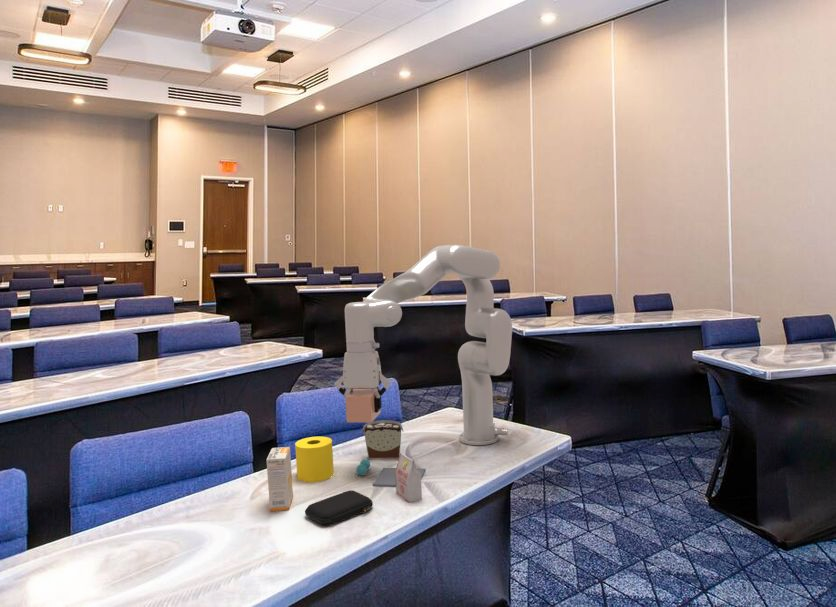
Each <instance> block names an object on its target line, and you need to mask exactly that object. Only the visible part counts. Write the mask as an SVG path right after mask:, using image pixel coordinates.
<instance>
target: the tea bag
mask: <svg viewBox="0 0 836 607" xmlns="http://www.w3.org/2000/svg"><path fill="white" fill-rule="evenodd" d="M396 464H397V465H396V467H395V468H396V470H395V475H396V487H395V489H396V490H395V491H396V492H395V493H396V494H397V495H398V496H400V497H401V498H402V499H403V500H405V501H406V502H408V503H412V502H416V501H420V500H423V494H422V493H423V492H422V491H423V490H422V489H423V488H422V479H421V475H420V473H419V471H418V469H417V468H418V467H417V466H416V463H415V460H414V459H412V458H410V457H408V456H407V455H405V454H404V453H400V458H399V459H398V462H397V463H396Z"/></svg>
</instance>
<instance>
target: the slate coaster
mask: <svg viewBox="0 0 836 607" xmlns="http://www.w3.org/2000/svg"><path fill="white" fill-rule="evenodd" d="M416 468H417V469H418V471H419V473H420V475H421V480H422V479H423V477H424V474H425V471H426V468H424V467H423V468H421V467H420V468H419V467H416ZM395 470H396V467H382V469H381V470H380V472H379V474H378V475H377V476H376V478H375V480H374V481H373V483H372V487H389V488H391V487H394V488H396V475H395Z"/></svg>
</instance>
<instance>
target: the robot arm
mask: <svg viewBox="0 0 836 607" xmlns="http://www.w3.org/2000/svg"><path fill="white" fill-rule="evenodd" d="M500 268H501V261H500V258H499V256H498V255H497V254H496V253H495V252H493V251H491V250H487V249H483V248H477V247H472V246H467V245H462V244H445V245H438V246H436V247H434V248H432V249H430V251H428V252H427V253H426V254H425V255H424V256H422V257H421V258H420V260H419V259H418V261H417V262H415V264H414V265H413V266H411V267H410V268H409V269H407V270H406V271H405V272H403V273H401V274H399V275H397V276H396V277H394V278H392V279H390V280H389V281H387V282H385V283H383V284H381V285H380V286H378V287H377V288H376V289H375V290H373V291H372V292H371V293H370V294H369V295H368V296H366V297H365V298H364V299H363V301H356V302H355V301H354V302H349V303H347V304H345V307H344V322H345V339H346V340H345V342H346V352H344V356H343V365H342V366H343V368H342V375H341V376H340V377H339V378H337V380H336V381H335V382H334V383H333V385H334V387H335V388H336V389H337V390H338V392H339V393H340V394H341V395H342V396H343V397H344V399H345V397H346V396H347V395H348V394H349V393H350V392H352V391H353V390H354V389H372V391H373V393H374V394H375V398H374V406H375V412H376V413H377V412H378V411H379V410H380V409H382V396H383V395H384V393H385V392H386V391H387V390H388V389H389V388H390V386H391V385H392V381H391V380H389V379H388V378H387V377H386V376H384V374H382V369H381V368H382V366H381V361H380V356H379V352H378V351H377V350H376V349H379V348H380V343H379V342H376V341H375V338H374V336H375V333H374V328H377V327H378V328H379V327H384V328H388V327H389V328H390V327H393V326H395V325H397V324H398V323H399V322H400V321H401V319H402V316H403V311H402V308H401V306H400V304H399V303H402V302H404V301H407V300H412V299H416V298H418V297H421V296H423V295H426V294H427V293H428V292H429V291H430V290H431V289H432V288H433V287H434V286H435V285H436V284H438V283H439V282H440V281H441V280H442V279H444V277H446V276H447V275H453V274H454V275H456V276H458V278H459V279H460V280H461V281H462V283H463V284H464V286H465V290H466V305H465V316H464V317H465V319H464V320H465V322H464V327H465V331H466V333H467V335H469V336H471V337H475V338H482V339H486V342H485V341H477V340H470V341H467V342H465V343H464V344H462V345H461V346H460V348H459V349H458V352H457V362H458V367H459V370H460V375H461V376H460V377H461V387H462V391H461V393H462V414H463V415H462V420H463V421H462V422H463V432H461V433H460V434H459V435H458V440H459V442H461V443H463V444H466V445H472V446H487V445H491V444H494V443H497V441H499V437H500V436H508V435H509V433H508V432H509V429H508V428H505V427H497V426H495V422H494V407H493V406H494V405H493V403H494V402H493V401H494V400H493V382H492V379H491V376H501V375H502V374H504V373H505V372H506V371H507V370H508V367H509V365H510V360H511V359H510V358H511V348H512V335H513V322H512V319H511V316H510V314H508V312H507V311H506V310H504V309H502V308H497V307H496V308H495V307H494V306H495V305H494V303H495V302H494V301H495V300H494V299H495V296H494V294H495V292H494V287H493V284H492V282H491V280H490V279H492V278H494V277H495V276H497V274H498V273H499V271H500ZM342 383H343V385H342ZM382 383H383V384H384V385H383V386H382V388H380V387H379V386H380V385H382ZM499 435H500V436H499Z"/></svg>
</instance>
